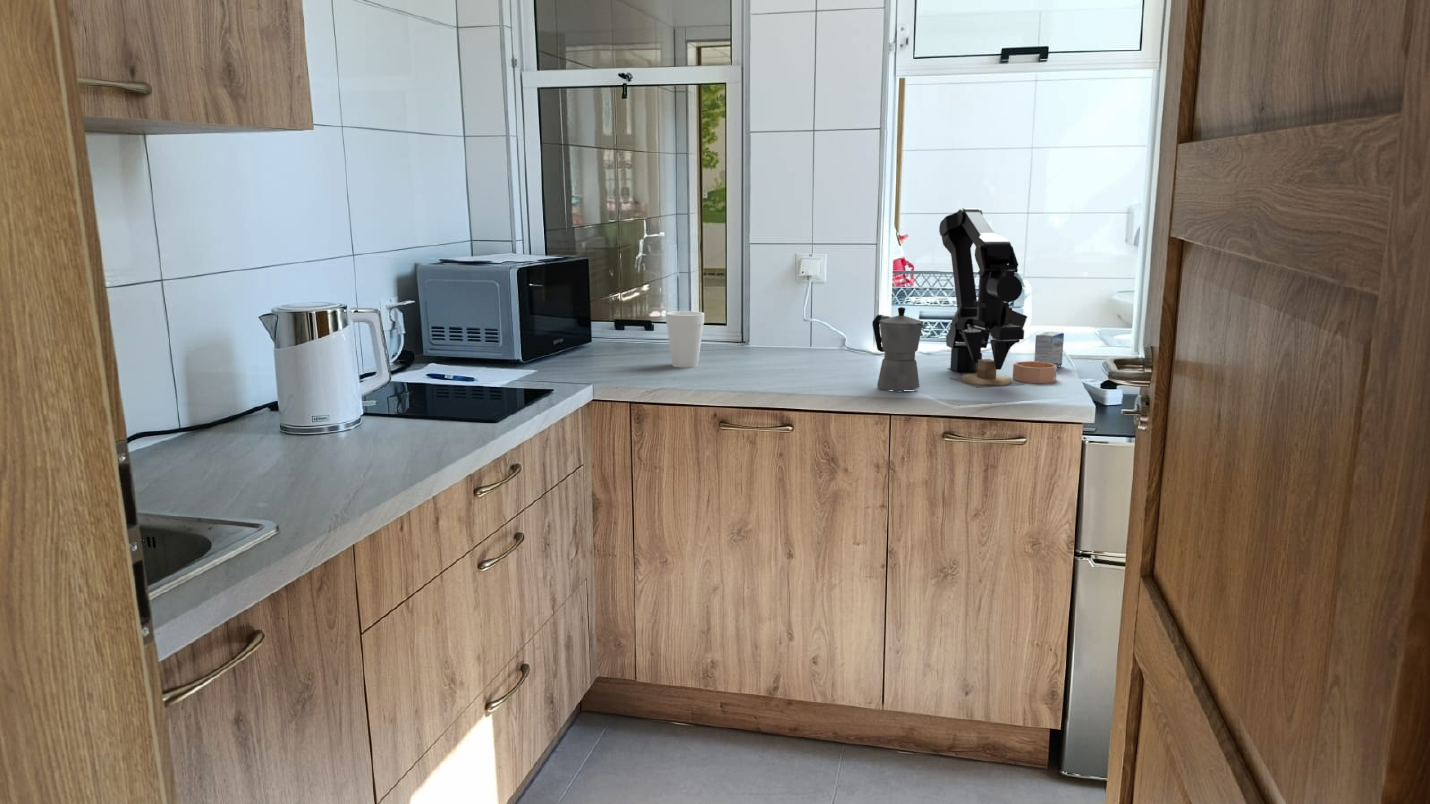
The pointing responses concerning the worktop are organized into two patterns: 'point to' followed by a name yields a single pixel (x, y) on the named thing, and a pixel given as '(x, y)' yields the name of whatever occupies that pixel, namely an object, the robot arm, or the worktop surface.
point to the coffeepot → (898, 350)
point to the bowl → (1034, 372)
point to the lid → (986, 375)
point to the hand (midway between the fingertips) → (987, 366)
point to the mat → (986, 386)
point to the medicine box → (1049, 348)
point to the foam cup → (685, 337)
